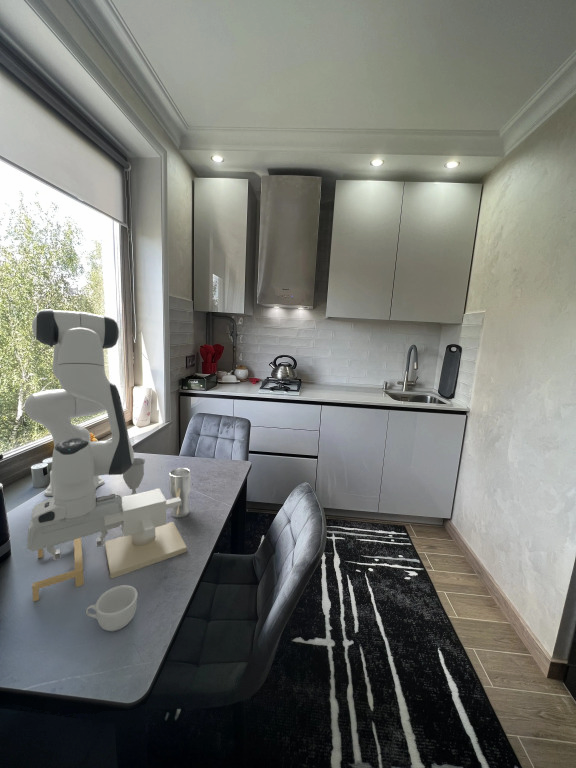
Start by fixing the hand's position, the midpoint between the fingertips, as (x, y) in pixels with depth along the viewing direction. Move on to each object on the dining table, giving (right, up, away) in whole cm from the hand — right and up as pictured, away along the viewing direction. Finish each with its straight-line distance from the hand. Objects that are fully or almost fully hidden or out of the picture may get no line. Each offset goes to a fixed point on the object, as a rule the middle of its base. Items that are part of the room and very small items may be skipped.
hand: (79, 551), depth 82 cm
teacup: (+17, -8, -14) cm, 23 cm away
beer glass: (+18, -1, +26) cm, 31 cm away
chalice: (+2, 0, +25) cm, 25 cm away
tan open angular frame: (-4, -4, -1) cm, 6 cm away
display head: (+14, -3, +8) cm, 16 cm away
